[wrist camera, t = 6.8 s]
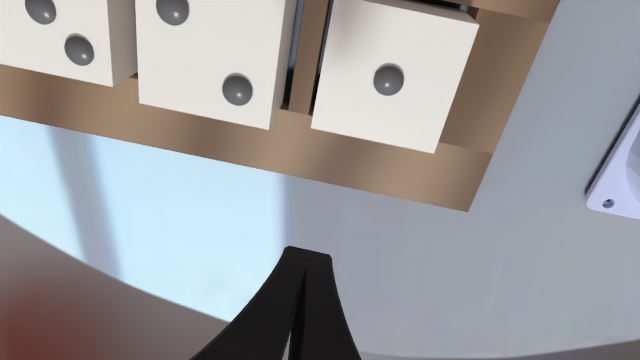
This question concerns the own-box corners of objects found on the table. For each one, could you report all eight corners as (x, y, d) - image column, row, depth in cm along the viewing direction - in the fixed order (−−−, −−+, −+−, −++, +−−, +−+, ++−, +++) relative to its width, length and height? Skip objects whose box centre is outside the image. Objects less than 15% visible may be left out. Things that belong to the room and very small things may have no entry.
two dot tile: (300, -21, 17) (286, -11, 14) (282, 102, 19) (268, 131, 16) (170, -48, 17) (132, -43, 14) (170, 79, 19) (137, 104, 16)
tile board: (574, -75, 16) (592, -76, 15) (462, 195, 22) (467, 212, 21) (-70, -210, 16) (-109, -222, 15) (-3, 99, 22) (-26, 109, 21)
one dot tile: (463, 10, 17) (480, 25, 15) (425, 124, 20) (434, 154, 17) (340, -16, 17) (334, -5, 15) (318, 101, 20) (310, 129, 17)
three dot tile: (142, -57, 17) (101, -54, 15) (146, 66, 20) (111, 87, 17) (19, -83, 17) (-45, -85, 15) (38, 43, 20) (-13, 61, 17)
